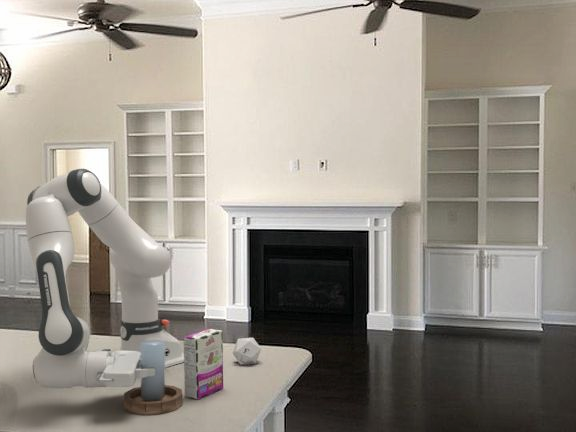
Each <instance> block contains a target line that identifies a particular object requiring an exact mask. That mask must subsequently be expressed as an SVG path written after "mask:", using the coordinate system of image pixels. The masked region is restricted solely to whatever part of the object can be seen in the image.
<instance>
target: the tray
mask: <svg viewBox="0 0 576 432" xmlns="http://www.w3.org/2000/svg"><path fill="white" fill-rule="evenodd" d="M183 404H184V403H183V390H182V388H179V387H176V386H175V385H169V384H168V385H167V384H165V397H164V398H162V399H159V400H153V401H148V400H143V399H141V386H138V387H133V388H131V389H129V390H128V391H126V392H124V394H123V409H124V410H125V411H126V412H127V413H131V414H134V415H140V416H141V415H143V416H145V415H146V416H150V415H161V414H166V413H170V412H173V411H175V410H178V409H179V408H181V406H183Z"/></svg>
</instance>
